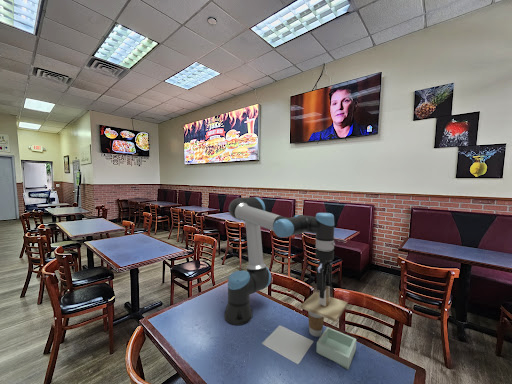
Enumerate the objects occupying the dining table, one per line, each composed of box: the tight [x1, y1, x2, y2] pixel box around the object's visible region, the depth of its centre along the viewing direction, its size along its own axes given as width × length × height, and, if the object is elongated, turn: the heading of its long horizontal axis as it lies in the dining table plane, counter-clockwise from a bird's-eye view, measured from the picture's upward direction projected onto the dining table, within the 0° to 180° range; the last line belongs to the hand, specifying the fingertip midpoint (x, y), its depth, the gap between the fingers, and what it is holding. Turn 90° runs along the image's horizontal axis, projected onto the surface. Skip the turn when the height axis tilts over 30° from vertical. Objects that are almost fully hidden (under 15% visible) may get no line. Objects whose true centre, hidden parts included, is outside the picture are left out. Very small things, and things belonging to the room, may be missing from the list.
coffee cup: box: [307, 311, 325, 338], centre depth 105 cm, size 8×8×15 cm
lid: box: [300, 286, 348, 322], centre depth 93 cm, size 15×15×8 cm
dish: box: [315, 326, 357, 371], centre depth 94 cm, size 13×13×5 cm
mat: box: [261, 324, 314, 365], centre depth 98 cm, size 18×16×1 cm
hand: (324, 302), depth 93 cm, fingers closed on lid, 3 cm apart
